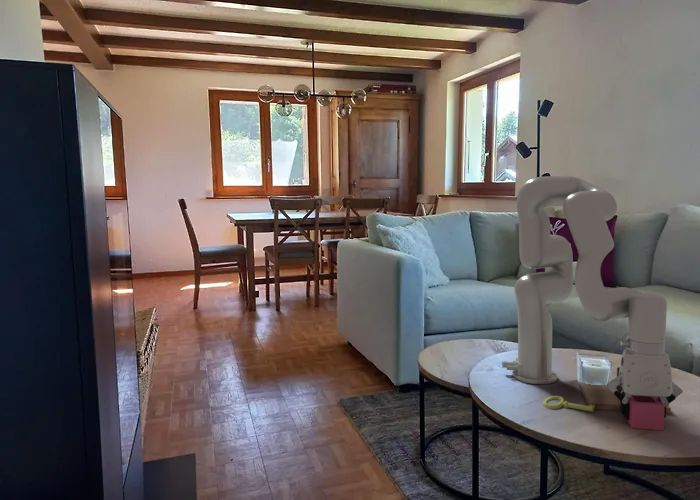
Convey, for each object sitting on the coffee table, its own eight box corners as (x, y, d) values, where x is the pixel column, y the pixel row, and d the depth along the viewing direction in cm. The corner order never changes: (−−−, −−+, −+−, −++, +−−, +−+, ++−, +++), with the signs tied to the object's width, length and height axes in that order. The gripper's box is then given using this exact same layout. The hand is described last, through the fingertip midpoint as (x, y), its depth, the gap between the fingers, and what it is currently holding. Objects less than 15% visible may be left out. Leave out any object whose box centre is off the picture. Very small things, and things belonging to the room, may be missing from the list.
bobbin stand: (590, 408, 121) (591, 376, 120) (578, 386, 135) (579, 358, 134) (670, 414, 117) (671, 380, 116) (649, 391, 131) (650, 361, 130)
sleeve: (631, 427, 111) (632, 403, 110) (622, 414, 117) (623, 391, 117) (663, 430, 109) (664, 405, 109) (652, 417, 116) (653, 393, 115)
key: (595, 416, 118) (595, 408, 118) (542, 409, 123) (542, 401, 123) (593, 404, 125) (593, 396, 125) (542, 398, 130) (542, 390, 129)
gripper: (609, 349, 110) (607, 423, 112) (695, 353, 105) (691, 429, 108) (600, 339, 117) (598, 409, 119) (680, 343, 113) (676, 414, 115)
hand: (642, 418), depth 113 cm, fingers closed on sleeve, 6 cm apart
